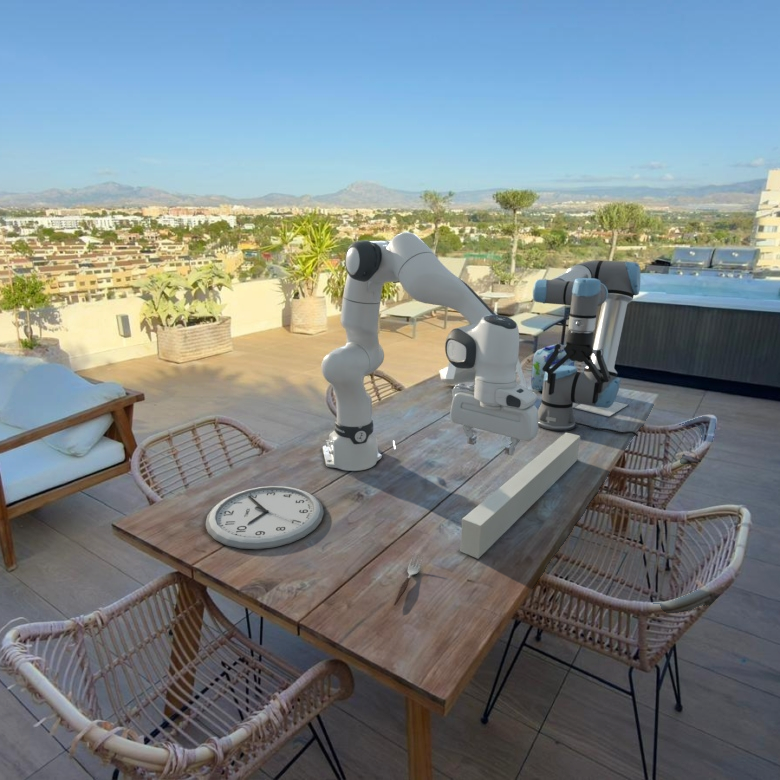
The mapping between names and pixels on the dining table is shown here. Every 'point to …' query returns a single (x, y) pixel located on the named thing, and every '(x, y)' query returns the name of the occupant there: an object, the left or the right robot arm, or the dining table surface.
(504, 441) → the dining table surface
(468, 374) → the white plastic object
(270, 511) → the wall clock
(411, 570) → the fork
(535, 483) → the post
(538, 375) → the lunch box
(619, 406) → the invitation card
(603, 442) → the dining table surface
